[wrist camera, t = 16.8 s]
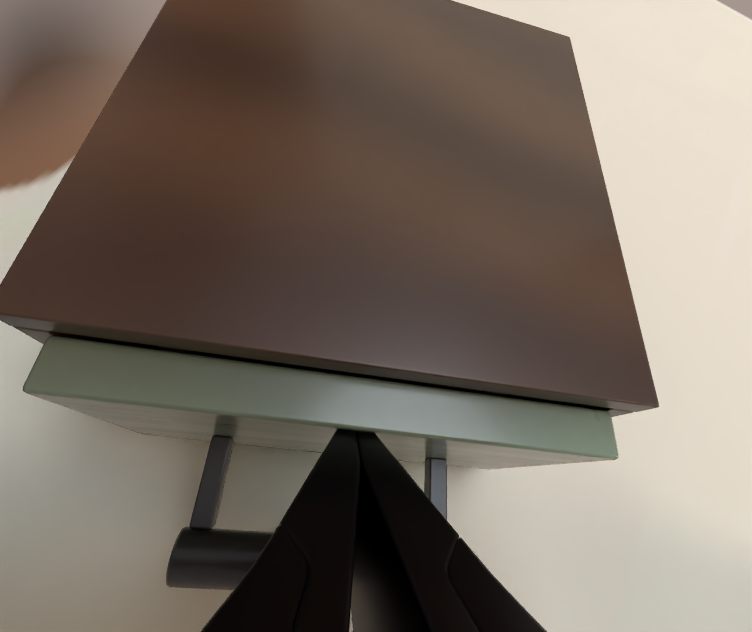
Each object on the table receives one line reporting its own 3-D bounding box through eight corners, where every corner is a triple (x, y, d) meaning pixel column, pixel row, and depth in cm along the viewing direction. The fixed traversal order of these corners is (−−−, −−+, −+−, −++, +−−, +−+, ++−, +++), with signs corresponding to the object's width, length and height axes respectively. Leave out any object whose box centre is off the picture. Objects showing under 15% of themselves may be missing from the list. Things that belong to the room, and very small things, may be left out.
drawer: (495, 585, 14) (659, 665, 8) (96, 566, 11) (-112, 654, 5) (477, 197, 21) (550, 86, 15) (237, 143, 19) (215, -10, 13)
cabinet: (491, 442, 17) (660, 407, 9) (142, 402, 14) (-18, 311, 7) (478, 181, 23) (570, 36, 16) (237, 126, 21) (210, -76, 13)
